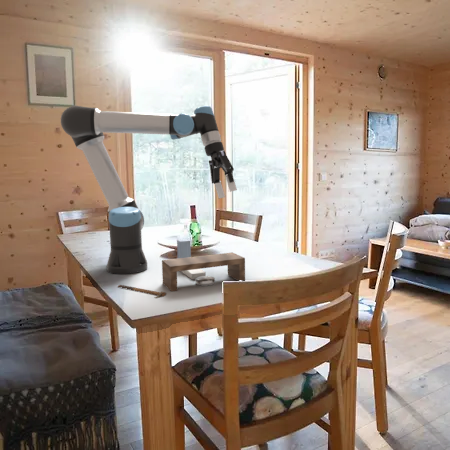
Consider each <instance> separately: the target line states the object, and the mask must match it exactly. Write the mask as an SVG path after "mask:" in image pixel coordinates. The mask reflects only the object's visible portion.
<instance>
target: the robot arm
mask: <svg viewBox="0 0 450 450" xmlns="http://www.w3.org/2000/svg"><path fill="white" fill-rule="evenodd" d="M193 113H194V114H193V115H189V114H187V113H182V112H181V113H178V114H177V113H176V114H174V113H155V112H135V111H134V112H133V111H111V110H109V111H107V110H100V109H99V108H97V107H87V106H81V105H72V106H68V107H67V108H65V109H64V110H63V112H62V114H61V117H60V125H61V129H62V130H63V131H64V132H65V134H67V135H68V136H69V137H71V139H72V141H73V143H74V145H75V147H76V149H78V150H81V151H82V152H83V155H84V157H85V158H86V160H87V163H88V165H89V167H90V169H91V171H92V173H93V175H94V177H95V180H96V181H97V183H98V186H99V187H100V190H101V192H102V194H103V196H104V199H105V200H106V202H107V204H108V209H107V214H108V223H109V224H108V225H109V243H110V253H109V256H108V260H107V263H106V272H107V273H110V272H111V273H110V274H115V273H117V274H118V275H127V274H136V273H140V272H143V271H146V270H148V261H147V258H146V256H145V253H144V250H143V242H142V238H143V237H142V230H143V227H144V224H145V216H144V215H143V212H142V211H141V210H140V209H139V207H138V205H137V203H136V201H135V199H134V198H132V197H130V196H129V194H128V192H127V190H126V187H125V186H124V184H123V182H122V180H121V178H120V176H119V174H118V171H117V169H116V168H115V165H114V163H113V161H112V159H111V156H110V154H109V152H108V150H107V147H106V146H105V144H104V140H105V135H104V133H107V134H108V133H111V134H112V133H113V134H114V133H115V134H118V133H119V134H140V135H141V134H142V135H143V134H145V135H146V134H147V135H169V136H170V139H171V140H173V141H174V140H175V141H176V140H180V139H183V138H186V137H191V136H193V135H197V134H200V137H201V138H200V139H201V141H202V145H203V147H204V151H205V154H206V156H207V157H210V160H208V164H209V171H210V180H211V184H214V187H215V191H216V194H217V197H218V199H222V198H223V199H224V198H225V197H226V195H225V191H224V189H223V185H222V181H221V175H220V173H221V171H220V170H222V172H224V176H225V179H226V183H227V186H228V189H229V190H228V191H229V192H230V193H231V192H236V191H237V190H238V189H237V186H236V183H235V179H234V175H233V172H234V171H235V168H234V167H233V164H232V163H231V161H230V159H229V158H228V156H227V152H226V150H225V147H224V145H223V142H221V141H222V139H221V136H222V134H220V131H219V127H218V125H217V124H218V123H217V119H216V116H215V113H214V110H213V108H212V107H211V106H210V105H201V106H199V107H197V108H195V109H194V112H193ZM117 274H116V275H117Z"/></svg>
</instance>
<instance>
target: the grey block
mask: <svg viewBox="0 0 450 450" xmlns="http://www.w3.org/2000/svg"><path fill="white" fill-rule="evenodd" d="M176 244H177V245H176V246H177V248H176V249H177V258H186V257H192V251H191V250H192V245H191V240H190V239H187V238H185V239H184V238H183V239H176ZM180 272H181V273H183V274H184V275H185V276H187V277H188V278H189V279H191V280H196V278H197V277H201V276H207V274H206V271H204V270H203V269H193V270H185V271H180Z"/></svg>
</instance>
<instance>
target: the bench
mask: <svg viewBox="0 0 450 450" xmlns="http://www.w3.org/2000/svg"><path fill="white" fill-rule="evenodd" d="M224 266H225V267H226V266H227V276H229V277H230V278H233V279H234V280H236V281H238V280H245V281H246V258H245V257H243V256H241V255H239V254H237V253H234V252H224V253H216V254H215V253H214V254H208V255H198V256H191V257H186V258H178V257H177V258H171V259H170V258H169V259H162V260H161V272H162V273H161V275H162V284H163V285H164V286H165V287H166V288H167V289H168V290H169V291H170V292H175V291H176V292H178V272H181V271H185V270H193V269H201V270H203V269H208V268H217V267H224Z"/></svg>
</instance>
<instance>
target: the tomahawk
mask: <svg viewBox="0 0 450 450" xmlns="http://www.w3.org/2000/svg"><path fill="white" fill-rule="evenodd" d="M119 287H122V288H121V289H123V288H127V289H126V290H128V289H131V290H130V291H134V290H135V291H134V292H138V291H140V292H139V293H143V292H144V293H145V294H148V293H149V294H148V295H154V296H155V297H154V299H158V298H162V297H165V296H167V293H166V292H165V291H155V290H150V289H145V288H139V287H134V286H130V285H124V284H119V285H118V286H117V288H119ZM144 293H143V294H144Z"/></svg>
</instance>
